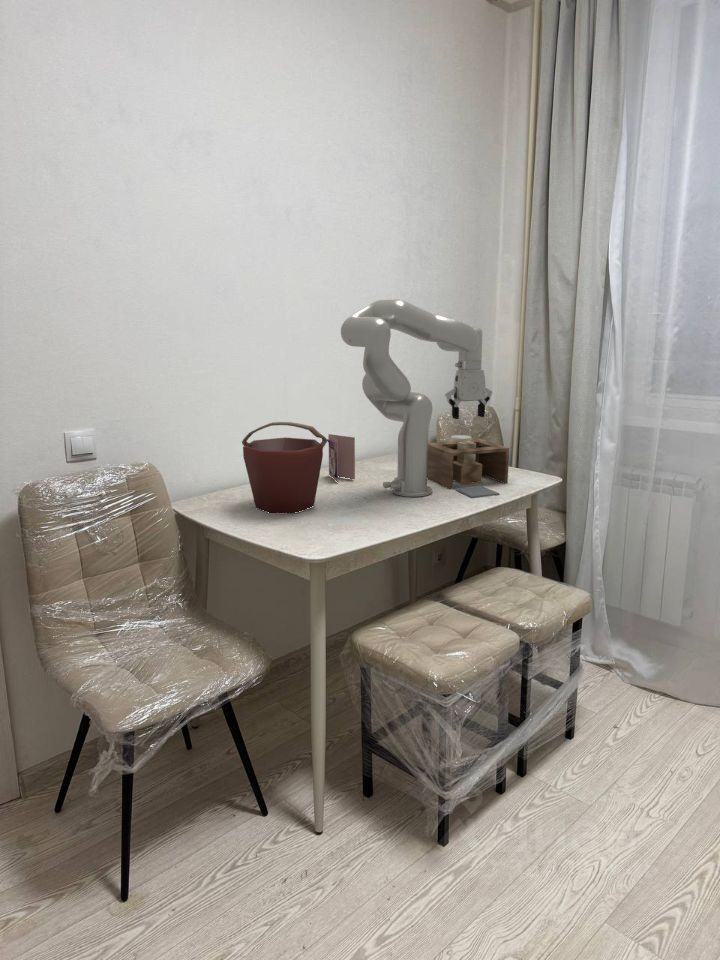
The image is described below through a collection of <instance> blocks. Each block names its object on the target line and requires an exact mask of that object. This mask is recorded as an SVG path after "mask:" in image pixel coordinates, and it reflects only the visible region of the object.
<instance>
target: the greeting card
mask: <svg viewBox="0 0 720 960" xmlns="http://www.w3.org/2000/svg"><path fill="white" fill-rule="evenodd" d="M326 439H327V438H326ZM327 440H328V441H327V444H328V476H329V475H330V476H331V477H333V478H334V479H335V480H336V481H337V482H338V483H339V478H338V476H339V477H345V478H350V479H355V480H356V464H355V463H356V454H355V453H356V452H355V450H356V448H355V447H356V444H355V443H356V441H355V437H353V436H348V435H347V436H346V435H339V434H331V433H328V439H327ZM331 477H330V478H331ZM337 482H336V483H337Z"/></svg>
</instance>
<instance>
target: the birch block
mask: <svg viewBox="0 0 720 960" xmlns="http://www.w3.org/2000/svg"><path fill="white" fill-rule="evenodd" d="M468 448H476V443H473V442H470V441H465V442H458V445H457V449H468ZM475 456H476V454H468V455H457V462H458V463H460V464H463V465H467V464H475Z"/></svg>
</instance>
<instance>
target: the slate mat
mask: <svg viewBox="0 0 720 960" xmlns="http://www.w3.org/2000/svg"><path fill="white" fill-rule="evenodd" d="M455 491H456V492H458V493H460V494H462V495H465V496H466V497H469V498H470V499H475V498H483V497H484V498H485V497H492V496H493V495H494V496H499V495H500V492H497V491H495V490H492V489H490V488H488V487H486V486H484V485H480V486H471V487H461V488H455Z"/></svg>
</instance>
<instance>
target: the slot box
mask: <svg viewBox="0 0 720 960" xmlns="http://www.w3.org/2000/svg"><path fill="white" fill-rule="evenodd" d="M465 441H470V442H473V443H476V448H468V449H457V445H458V442H465ZM468 454H476V456H475V464H467V465H463V464H460V463H458V462H457V455H468ZM509 463H510V447H507V446H505V445H501V444H498V443H495V442H491V441H488V440H485V439H482V438H479V439H472V440H462V441H450V440H448V441H440V442H439V441H438V442H428V476H427V478H428V479H427V480H430V481H432V482H434V483H436V484H438V485H440V486H442V485H443V486H442V487H444V488H446V487H447V489H448V488H449V490H453V486H454V483H453V481H454V482H456V483H459V484H460V483H461V484H460V485H463V484H462V483H464V484H472V482H474V483H482V481H483V476H485V475H486V477H488V478H490V477H491V479H493V478H494V479H493V480H495V479H496V481H498V480H499V482H500V481H502V482H501V483H503V482H504V483H503V484H508V482H509V481H508V480H509Z"/></svg>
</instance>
